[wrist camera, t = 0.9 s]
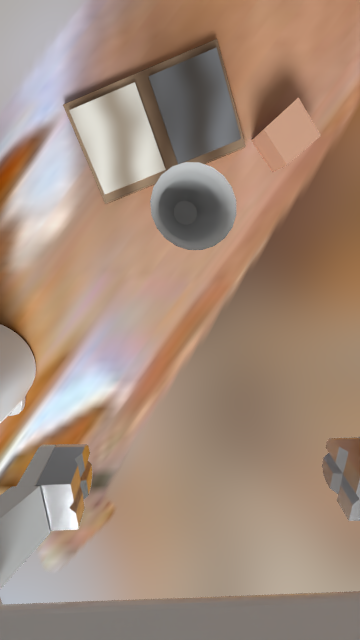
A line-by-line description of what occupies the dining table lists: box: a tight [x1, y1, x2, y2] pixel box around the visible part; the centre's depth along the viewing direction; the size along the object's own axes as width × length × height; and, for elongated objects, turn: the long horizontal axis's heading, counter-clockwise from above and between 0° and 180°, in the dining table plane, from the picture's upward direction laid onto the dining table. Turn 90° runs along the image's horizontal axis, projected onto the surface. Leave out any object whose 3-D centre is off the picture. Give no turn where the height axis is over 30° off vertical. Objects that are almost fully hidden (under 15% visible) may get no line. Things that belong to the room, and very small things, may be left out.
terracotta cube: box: [252, 97, 321, 172], centre depth 37 cm, size 5×5×5 cm
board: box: [63, 39, 245, 204], centre depth 38 cm, size 20×12×2 cm, turn 111°
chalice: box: [150, 162, 236, 250], centre depth 33 cm, size 7×7×18 cm
